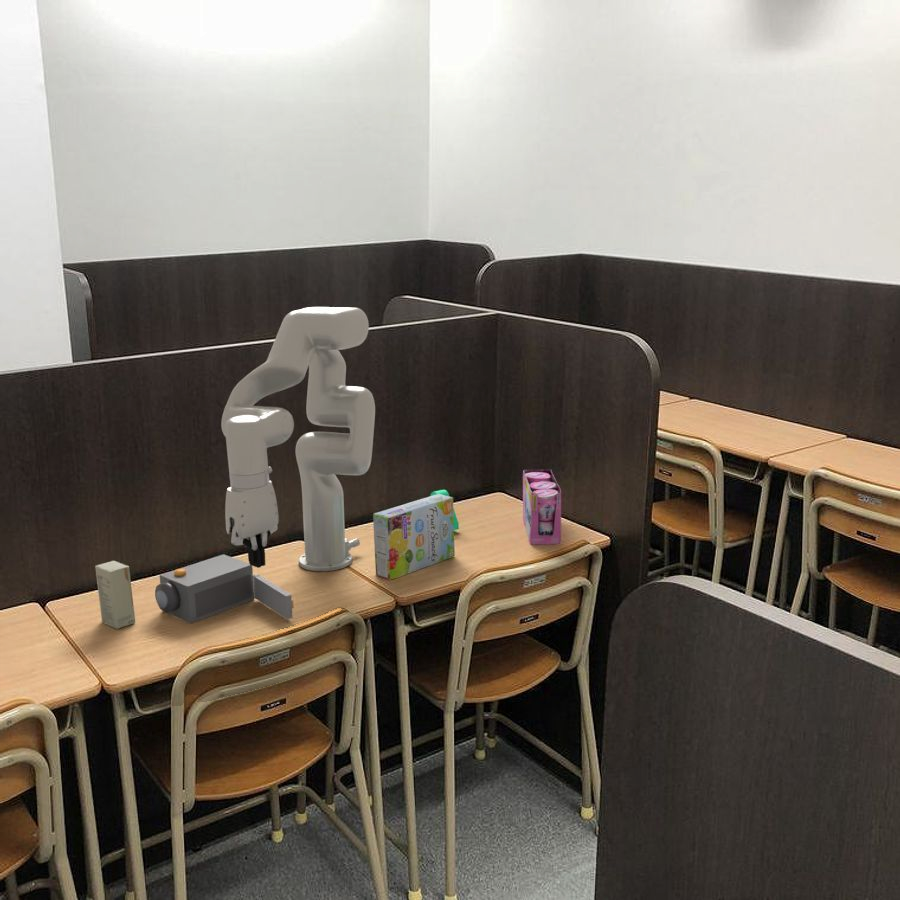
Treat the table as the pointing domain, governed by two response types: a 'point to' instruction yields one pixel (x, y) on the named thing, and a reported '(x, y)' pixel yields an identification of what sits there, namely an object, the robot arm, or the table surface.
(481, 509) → the table surface
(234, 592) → the camera body
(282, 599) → the side door
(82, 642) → the table surface
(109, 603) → the skincare box
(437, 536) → the snack box
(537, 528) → the gum box
